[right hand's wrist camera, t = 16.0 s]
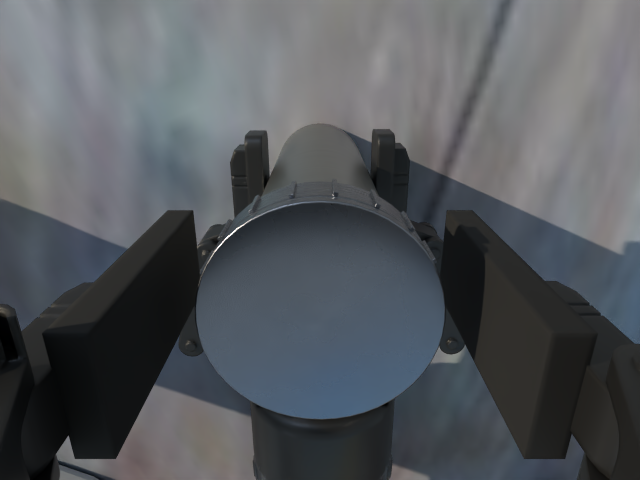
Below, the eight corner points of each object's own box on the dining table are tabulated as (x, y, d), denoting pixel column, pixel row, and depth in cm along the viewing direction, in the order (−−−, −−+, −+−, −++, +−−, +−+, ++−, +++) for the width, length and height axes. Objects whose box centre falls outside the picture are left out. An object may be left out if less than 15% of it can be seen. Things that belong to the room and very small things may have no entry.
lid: (427, 162, 11) (446, 180, 9) (436, 365, 13) (453, 409, 11) (185, 194, 11) (162, 216, 9) (234, 387, 13) (222, 433, 11)
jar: (373, 184, 26) (444, 345, 11) (301, 217, 27) (278, 409, 12) (340, 108, 24) (371, 180, 10) (264, 145, 25) (185, 265, 10)
